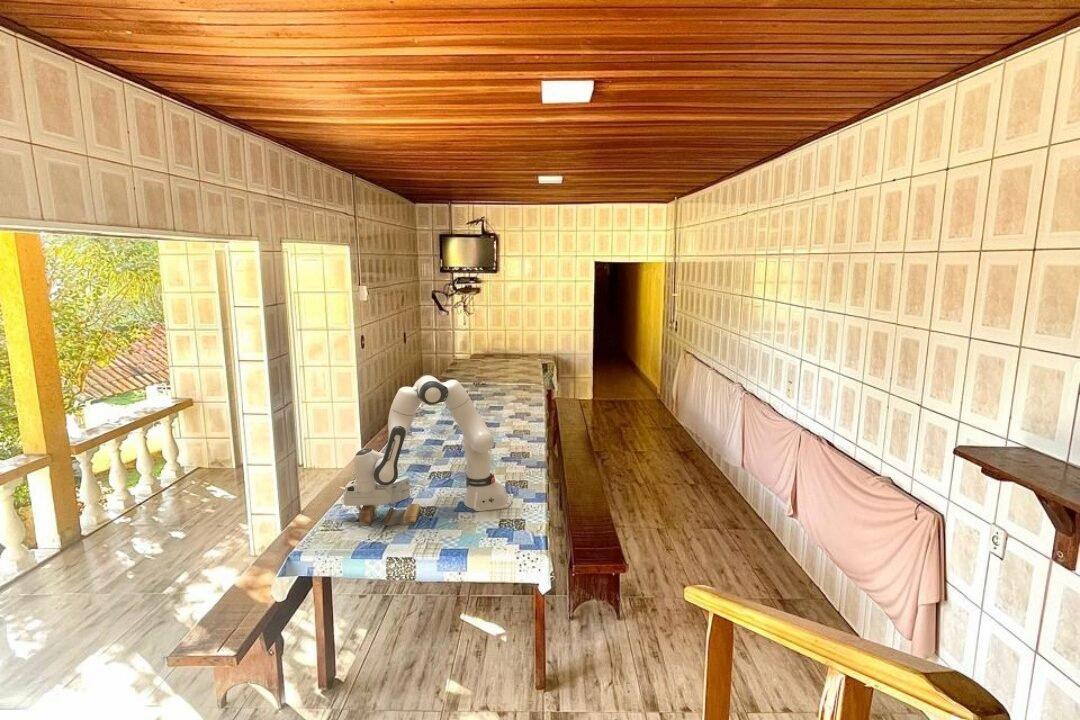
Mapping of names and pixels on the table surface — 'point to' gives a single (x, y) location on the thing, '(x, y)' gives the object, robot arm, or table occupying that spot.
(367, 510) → the walnut plank
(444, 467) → the table surface
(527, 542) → the table surface
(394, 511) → the floor section
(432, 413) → the table surface
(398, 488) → the light bulb box
